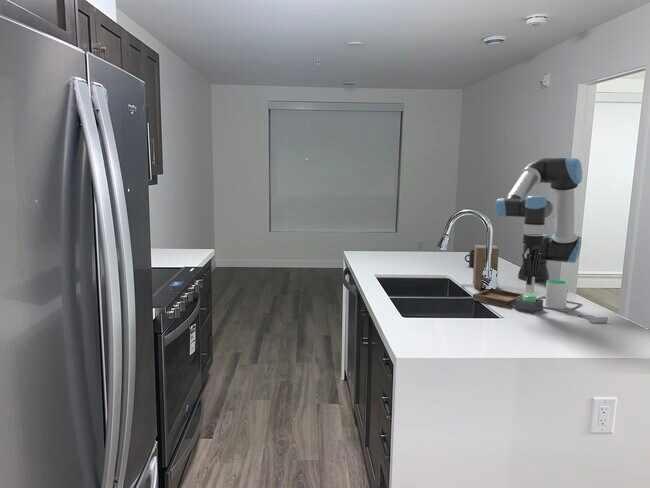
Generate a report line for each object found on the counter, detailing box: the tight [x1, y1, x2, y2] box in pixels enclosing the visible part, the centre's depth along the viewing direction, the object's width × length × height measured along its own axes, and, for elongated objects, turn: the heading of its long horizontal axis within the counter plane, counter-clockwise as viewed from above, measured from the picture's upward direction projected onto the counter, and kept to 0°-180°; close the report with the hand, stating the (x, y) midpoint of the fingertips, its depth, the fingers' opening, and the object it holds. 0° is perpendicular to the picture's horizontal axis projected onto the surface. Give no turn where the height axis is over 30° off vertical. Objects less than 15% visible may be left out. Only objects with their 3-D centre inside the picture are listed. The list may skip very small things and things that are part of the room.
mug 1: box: [464, 249, 475, 269], centre depth 289 cm, size 9×12×9 cm
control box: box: [514, 297, 544, 314], centre depth 201 cm, size 8×8×4 cm
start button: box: [522, 294, 537, 303], centre depth 200 cm, size 5×5×4 cm
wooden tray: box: [472, 288, 525, 308], centre depth 214 cm, size 16×16×3 cm
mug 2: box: [544, 279, 569, 310], centre depth 207 cm, size 12×8×10 cm, turn 174°
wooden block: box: [472, 244, 500, 290], centre depth 237 cm, size 10×10×20 cm
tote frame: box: [536, 296, 583, 313], centre depth 208 cm, size 17×17×1 cm
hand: (529, 292), depth 200 cm, fingers closed
